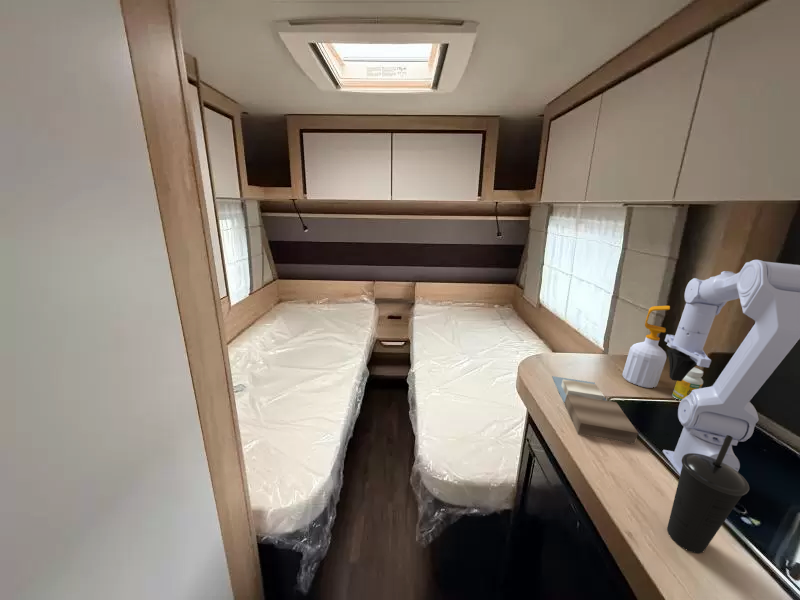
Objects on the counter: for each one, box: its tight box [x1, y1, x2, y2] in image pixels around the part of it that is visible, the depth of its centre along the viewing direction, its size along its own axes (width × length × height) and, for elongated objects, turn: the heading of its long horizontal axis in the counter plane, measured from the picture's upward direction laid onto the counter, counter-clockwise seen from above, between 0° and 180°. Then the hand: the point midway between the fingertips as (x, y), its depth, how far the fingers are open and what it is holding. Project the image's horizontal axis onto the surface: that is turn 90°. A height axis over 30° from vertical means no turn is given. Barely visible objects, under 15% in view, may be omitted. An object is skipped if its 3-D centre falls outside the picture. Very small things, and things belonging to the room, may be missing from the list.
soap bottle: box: [622, 305, 671, 389], centre depth 101 cm, size 9×9×25 cm
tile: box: [561, 379, 605, 400], centre depth 94 cm, size 6×9×2 cm, turn 79°
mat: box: [551, 375, 608, 404], centre depth 95 cm, size 14×12×1 cm
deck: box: [564, 395, 639, 445], centre depth 82 cm, size 12×12×3 cm
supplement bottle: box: [671, 366, 704, 400], centre depth 94 cm, size 5×5×10 cm
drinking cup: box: [666, 435, 750, 554], centre depth 52 cm, size 8×8×20 cm
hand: (675, 379), depth 85 cm, fingers closed
